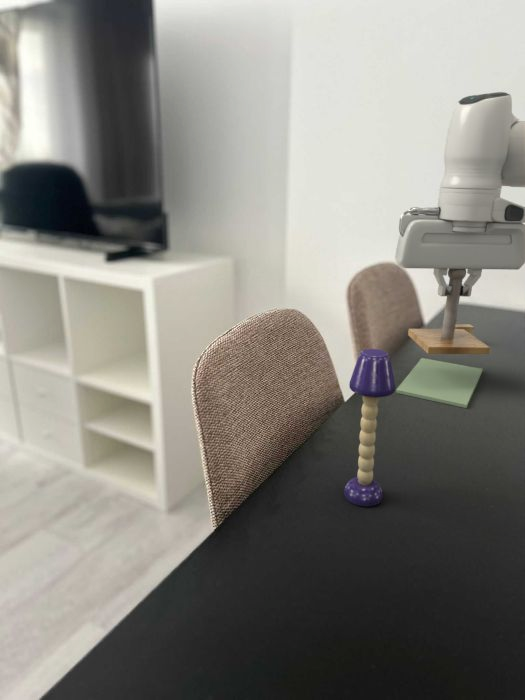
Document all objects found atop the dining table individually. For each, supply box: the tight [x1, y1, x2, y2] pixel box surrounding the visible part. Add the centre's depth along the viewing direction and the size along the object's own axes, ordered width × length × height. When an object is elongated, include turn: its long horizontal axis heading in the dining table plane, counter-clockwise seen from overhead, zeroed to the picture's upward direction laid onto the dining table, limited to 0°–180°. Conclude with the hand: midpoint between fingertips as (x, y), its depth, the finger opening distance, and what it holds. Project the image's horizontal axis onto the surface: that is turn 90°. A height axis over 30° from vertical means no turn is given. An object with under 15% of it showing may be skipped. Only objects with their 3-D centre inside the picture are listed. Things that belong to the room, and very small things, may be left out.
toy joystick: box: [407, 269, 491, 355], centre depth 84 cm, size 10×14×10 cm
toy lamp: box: [343, 348, 396, 508], centre depth 54 cm, size 5×5×17 cm
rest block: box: [455, 323, 475, 336], centre depth 109 cm, size 5×2×4 cm, turn 94°
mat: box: [395, 357, 484, 409], centre depth 89 cm, size 18×11×1 cm, turn 151°
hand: (453, 295), depth 84 cm, fingers closed on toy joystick
